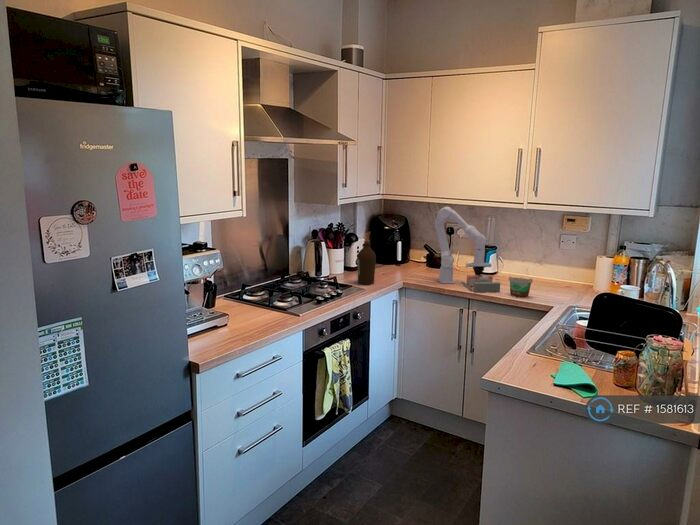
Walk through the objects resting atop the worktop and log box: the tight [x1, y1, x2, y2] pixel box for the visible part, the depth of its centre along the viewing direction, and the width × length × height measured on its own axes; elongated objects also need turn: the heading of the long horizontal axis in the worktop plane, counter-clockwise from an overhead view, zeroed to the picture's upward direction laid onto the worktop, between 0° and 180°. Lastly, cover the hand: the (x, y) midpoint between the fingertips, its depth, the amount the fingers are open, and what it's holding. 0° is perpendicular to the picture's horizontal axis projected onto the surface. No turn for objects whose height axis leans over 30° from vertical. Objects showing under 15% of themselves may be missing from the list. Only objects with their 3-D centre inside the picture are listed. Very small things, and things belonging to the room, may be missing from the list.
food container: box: [508, 276, 534, 298], centre depth 271 cm, size 12×6×10 cm, turn 62°
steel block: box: [476, 274, 489, 282], centre depth 286 cm, size 5×5×7 cm
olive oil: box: [356, 239, 377, 286], centre depth 292 cm, size 11×11×25 cm
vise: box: [460, 281, 501, 294], centre depth 288 cm, size 20×17×5 cm
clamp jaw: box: [466, 274, 494, 288], centre depth 291 cm, size 3×14×6 cm, turn 96°
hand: (477, 279), depth 294 cm, fingers closed, pressing on clamp jaw
